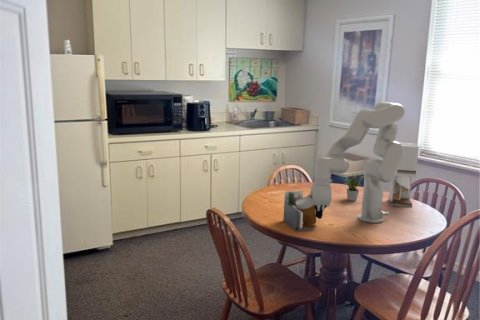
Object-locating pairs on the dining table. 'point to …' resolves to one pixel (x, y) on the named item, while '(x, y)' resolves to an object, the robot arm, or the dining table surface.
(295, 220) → the gauge frame
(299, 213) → the pale grey flat panel
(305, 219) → the disposable coffee cup
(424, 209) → the dining table surface
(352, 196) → the house plant
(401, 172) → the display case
